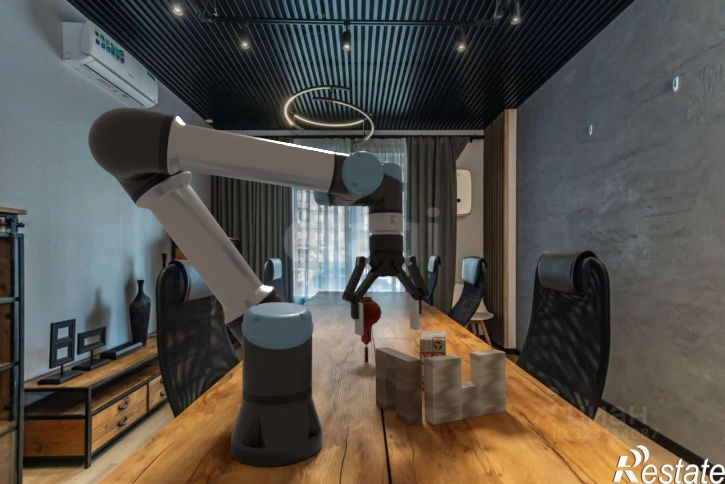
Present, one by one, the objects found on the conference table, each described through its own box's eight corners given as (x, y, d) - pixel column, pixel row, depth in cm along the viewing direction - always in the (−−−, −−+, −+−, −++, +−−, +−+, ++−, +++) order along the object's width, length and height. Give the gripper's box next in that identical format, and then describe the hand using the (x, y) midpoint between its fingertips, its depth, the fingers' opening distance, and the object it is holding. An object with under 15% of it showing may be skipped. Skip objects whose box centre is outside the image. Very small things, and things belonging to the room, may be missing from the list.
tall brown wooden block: (408, 426, 80) (408, 361, 81) (375, 403, 93) (375, 348, 93) (422, 423, 81) (421, 360, 82) (387, 401, 94) (387, 347, 95)
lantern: (352, 358, 137) (352, 264, 138) (381, 358, 136) (381, 264, 138) (350, 365, 127) (350, 265, 129) (381, 365, 127) (381, 264, 128)
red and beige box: (424, 367, 125) (424, 325, 125) (446, 368, 124) (445, 326, 124) (419, 389, 104) (419, 338, 104) (446, 390, 103) (445, 339, 103)
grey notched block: (433, 424, 81) (432, 360, 81) (424, 419, 83) (424, 357, 84) (506, 410, 88) (505, 352, 89) (496, 406, 91) (495, 349, 91)
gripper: (339, 232, 84) (340, 339, 84) (443, 233, 95) (445, 329, 94) (326, 234, 91) (327, 334, 90) (424, 235, 102) (426, 325, 101)
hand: (387, 332), depth 92 cm, fingers open, 13 cm apart
